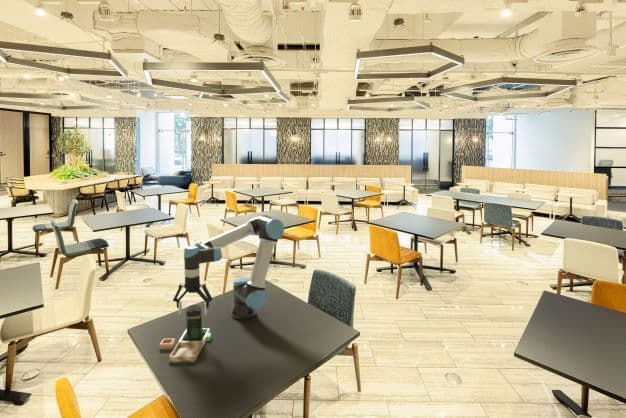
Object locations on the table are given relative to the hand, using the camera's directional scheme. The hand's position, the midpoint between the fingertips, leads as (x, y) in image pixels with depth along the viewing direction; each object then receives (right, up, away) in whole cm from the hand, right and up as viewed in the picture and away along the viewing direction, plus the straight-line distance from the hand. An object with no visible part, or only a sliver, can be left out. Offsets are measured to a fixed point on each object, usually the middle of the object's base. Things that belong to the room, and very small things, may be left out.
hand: (193, 313), depth 199 cm
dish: (-12, -16, -5) cm, 20 cm away
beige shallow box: (+1, -17, -12) cm, 21 cm away
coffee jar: (0, -15, +3) cm, 15 cm away
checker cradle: (0, -15, +3) cm, 15 cm away
